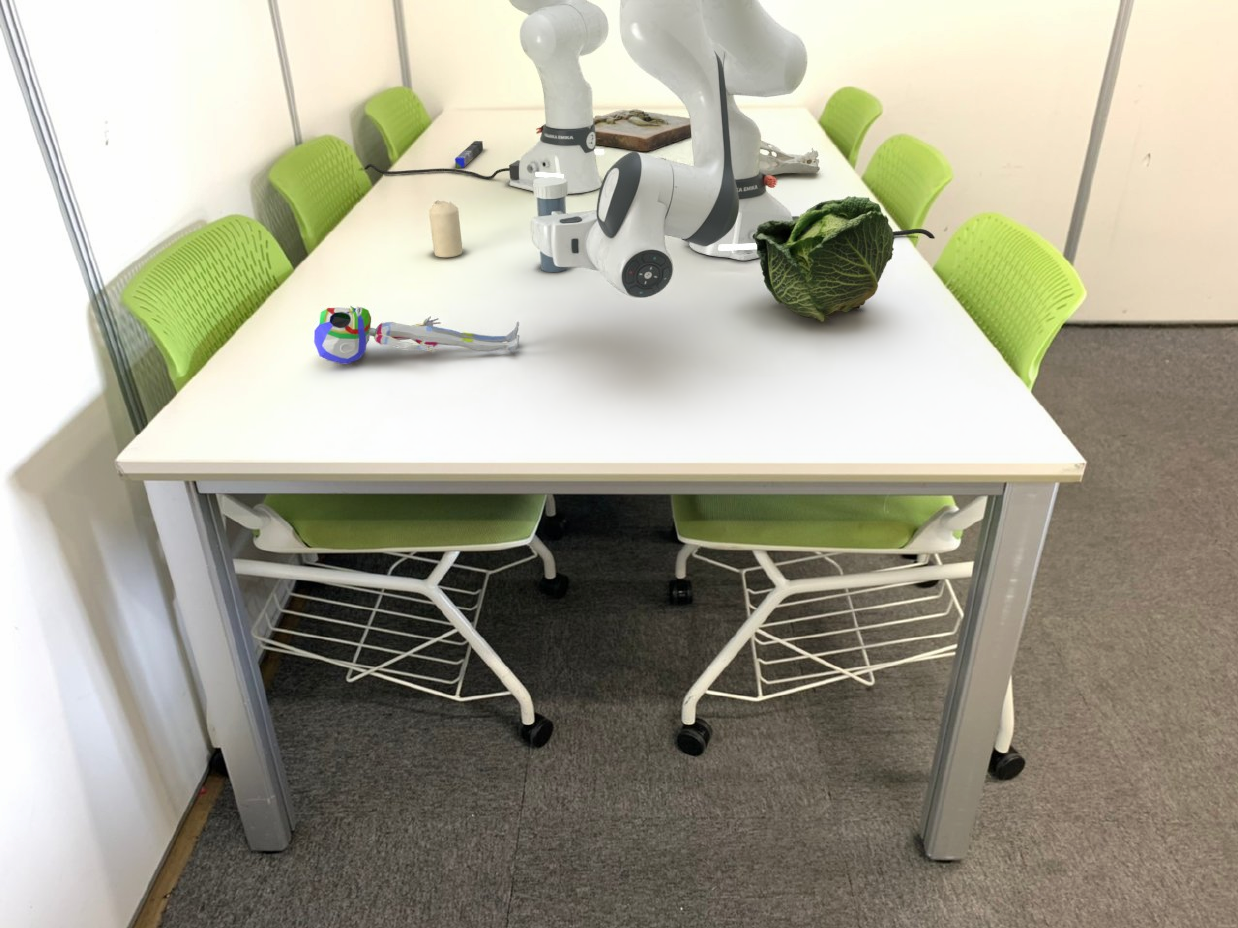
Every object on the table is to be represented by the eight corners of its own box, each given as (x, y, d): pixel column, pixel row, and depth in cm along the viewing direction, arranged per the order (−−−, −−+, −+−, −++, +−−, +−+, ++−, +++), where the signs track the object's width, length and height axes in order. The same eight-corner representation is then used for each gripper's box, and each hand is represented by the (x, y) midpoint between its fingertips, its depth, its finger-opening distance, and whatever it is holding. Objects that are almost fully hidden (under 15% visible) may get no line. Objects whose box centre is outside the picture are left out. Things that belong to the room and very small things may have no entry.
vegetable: (781, 336, 156) (729, 236, 148) (870, 275, 157) (823, 172, 149) (838, 357, 138) (781, 244, 130) (938, 287, 139) (888, 171, 131)
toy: (520, 333, 130) (306, 316, 126) (516, 385, 135) (309, 370, 130) (519, 307, 139) (319, 289, 134) (515, 356, 143) (321, 341, 139)
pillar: (482, 141, 246) (462, 159, 229) (483, 149, 247) (463, 167, 230) (474, 141, 246) (454, 159, 230) (475, 149, 247) (455, 167, 231)
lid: (541, 188, 164) (541, 175, 162) (572, 191, 162) (572, 177, 161) (528, 197, 159) (527, 184, 158) (560, 200, 157) (559, 186, 156)
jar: (547, 261, 170) (542, 178, 162) (572, 264, 169) (569, 180, 161) (536, 270, 166) (531, 186, 158) (562, 273, 165) (558, 188, 157)
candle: (467, 249, 176) (462, 199, 171) (454, 259, 172) (448, 207, 167) (442, 247, 178) (436, 196, 172) (429, 256, 173) (422, 204, 168)
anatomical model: (720, 129, 225) (821, 128, 221) (719, 166, 230) (818, 165, 226) (716, 143, 213) (823, 142, 209) (716, 182, 218) (820, 182, 214)
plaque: (647, 125, 237) (559, 112, 252) (647, 153, 241) (560, 139, 256) (706, 107, 258) (622, 97, 273) (705, 133, 262) (622, 121, 277)
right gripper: (678, 210, 131) (647, 186, 142) (542, 225, 126) (521, 199, 137) (678, 252, 134) (647, 225, 145) (545, 268, 129) (524, 239, 140)
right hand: (585, 213), depth 141 cm, fingers open, 8 cm apart
